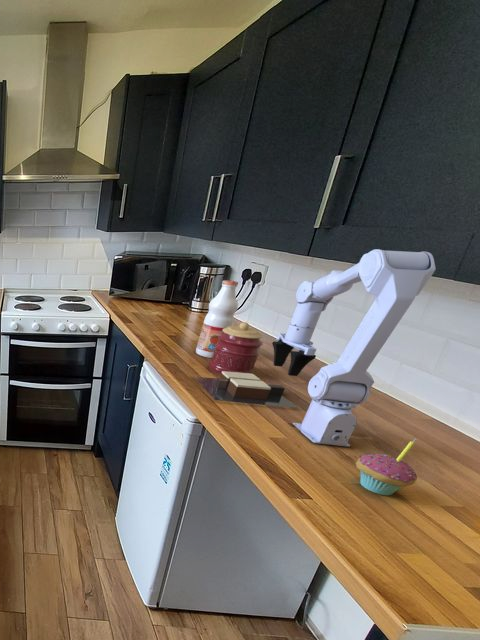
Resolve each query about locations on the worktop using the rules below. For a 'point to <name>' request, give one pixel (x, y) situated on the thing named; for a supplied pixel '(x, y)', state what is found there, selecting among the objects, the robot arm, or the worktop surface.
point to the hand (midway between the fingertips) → (284, 370)
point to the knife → (274, 388)
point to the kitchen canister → (236, 350)
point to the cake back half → (238, 376)
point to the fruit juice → (217, 318)
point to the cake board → (224, 395)
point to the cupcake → (386, 472)
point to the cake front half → (248, 389)
